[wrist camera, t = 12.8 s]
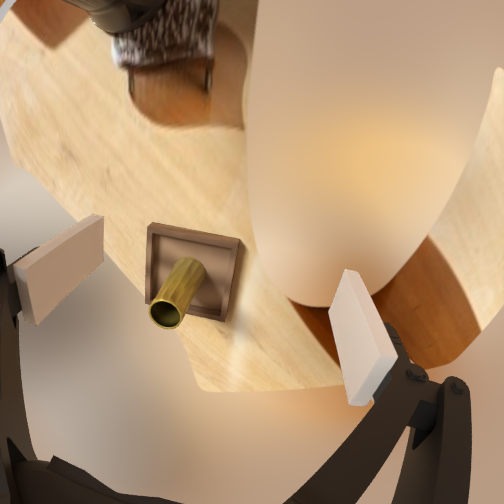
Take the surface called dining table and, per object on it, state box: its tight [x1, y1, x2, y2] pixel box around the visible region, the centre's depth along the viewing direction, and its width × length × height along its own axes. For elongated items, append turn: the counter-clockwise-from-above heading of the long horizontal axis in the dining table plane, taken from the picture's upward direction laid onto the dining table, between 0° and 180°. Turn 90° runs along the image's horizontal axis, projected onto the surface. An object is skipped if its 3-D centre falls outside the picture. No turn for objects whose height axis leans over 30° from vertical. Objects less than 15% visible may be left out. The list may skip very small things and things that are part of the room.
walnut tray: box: [145, 222, 240, 322], centre depth 55 cm, size 16×16×2 cm
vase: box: [149, 257, 205, 329], centre depth 49 cm, size 6×6×14 cm
